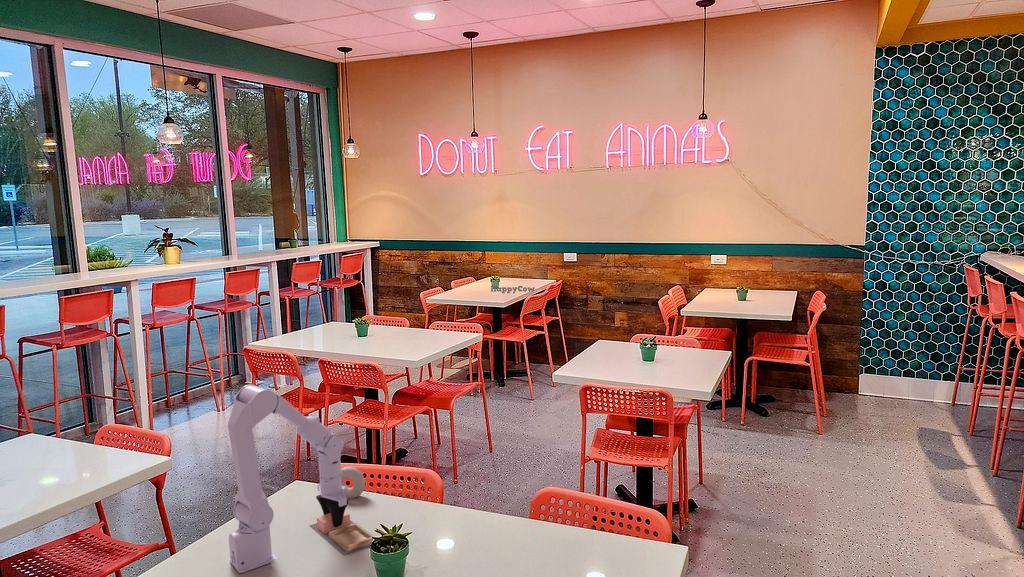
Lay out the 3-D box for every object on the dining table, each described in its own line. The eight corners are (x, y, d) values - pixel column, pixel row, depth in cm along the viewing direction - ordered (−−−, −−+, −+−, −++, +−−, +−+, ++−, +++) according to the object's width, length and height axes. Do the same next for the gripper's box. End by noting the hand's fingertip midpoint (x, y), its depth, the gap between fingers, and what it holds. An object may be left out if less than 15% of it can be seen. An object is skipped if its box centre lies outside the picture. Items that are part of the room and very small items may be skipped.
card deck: (324, 533, 181) (323, 522, 181) (317, 527, 185) (316, 517, 184) (350, 524, 186) (349, 514, 186) (343, 519, 190) (342, 508, 189)
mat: (344, 557, 169) (344, 555, 169) (309, 527, 186) (309, 525, 186) (379, 544, 175) (379, 542, 175) (342, 516, 192) (342, 514, 192)
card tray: (347, 553, 170) (346, 547, 170) (329, 538, 179) (328, 532, 178) (374, 542, 175) (374, 537, 175) (356, 528, 183) (355, 523, 183)
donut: (367, 496, 206) (365, 464, 205) (364, 501, 202) (362, 469, 201) (336, 496, 207) (334, 464, 206) (332, 500, 203) (329, 469, 202)
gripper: (356, 478, 181) (358, 527, 182) (333, 464, 192) (335, 509, 193) (331, 486, 176) (334, 535, 178) (309, 470, 187) (312, 517, 189)
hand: (333, 522), depth 185 cm, fingers open, 5 cm apart
